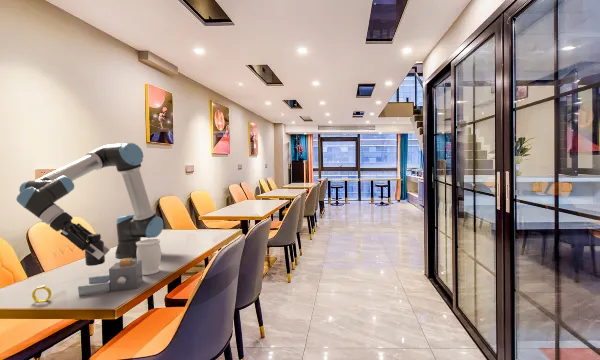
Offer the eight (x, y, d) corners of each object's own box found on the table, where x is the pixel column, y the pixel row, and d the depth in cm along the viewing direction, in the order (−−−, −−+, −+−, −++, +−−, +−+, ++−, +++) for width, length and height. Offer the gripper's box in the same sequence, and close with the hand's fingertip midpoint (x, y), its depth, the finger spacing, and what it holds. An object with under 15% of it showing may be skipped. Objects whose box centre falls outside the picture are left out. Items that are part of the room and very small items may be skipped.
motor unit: (90, 285, 143) (88, 260, 142) (143, 279, 148) (141, 255, 147) (76, 298, 129) (74, 270, 129) (135, 290, 134) (133, 263, 134)
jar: (146, 277, 151) (144, 244, 150) (133, 274, 156) (131, 242, 155) (166, 270, 160) (164, 239, 159) (153, 267, 165) (151, 237, 164)
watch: (31, 304, 126) (29, 289, 125) (36, 301, 128) (34, 286, 128) (49, 301, 127) (46, 286, 126) (53, 298, 129) (51, 283, 129)
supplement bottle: (107, 263, 138) (105, 234, 137) (88, 267, 133) (86, 237, 132) (102, 260, 142) (100, 232, 142) (83, 264, 137) (81, 235, 137)
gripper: (61, 221, 143) (105, 255, 147) (36, 229, 124) (88, 268, 128) (74, 208, 144) (118, 242, 148) (52, 214, 125) (103, 253, 129)
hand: (104, 254), depth 138 cm, fingers closed on supplement bottle, 7 cm apart
